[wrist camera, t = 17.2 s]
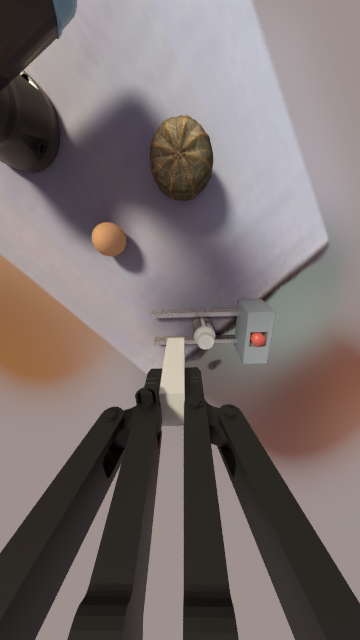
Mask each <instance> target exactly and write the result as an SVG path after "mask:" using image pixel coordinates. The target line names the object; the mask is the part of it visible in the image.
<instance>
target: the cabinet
mask: <svg viewBox="0 0 360 640" xmlns="http://www.w3.org/2000/svg"><path fill="white" fill-rule="evenodd" d="M238 309H239V311H240V316H237V320H236V331H235V335H236V337H237V343H234V346H235V348H236V350H237V352H238V355H239V357H240V359H241V361H242V364H267V360H268V354H269V349H270V343H271V337H272V332H273V326H274V320H275V315H276V312H275V311H274V310H273V309H272V308H271V307H270V306H269V305H267V304H266V303H265V302H264V301H263V300H262V299H251V300H238ZM251 332H261V333H262V334H263V336H264V337H265V338H266V342H265V344H264V345H263V346H260V347H257V346H255V345H254V344H253V343H252V341H251V340H250V334H251Z"/></svg>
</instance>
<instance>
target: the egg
mask: <svg viewBox="0 0 360 640" xmlns="http://www.w3.org/2000/svg"><path fill="white" fill-rule="evenodd" d="M92 242H93V245H94V247H95V248H96V249H97V250H98V251H99V252H100V253H102V254H103V255H106V256H116V255H118V254H120V253H121V252H122V251H123V250H124V248H125V246H126V236H125V234H124V232H123V230H122V229H121V228H120V227H119V226H118V225H116V224H114V223H110V222H104V223H100V224H99V225H97V226H96V227H95V228H94V230H93V232H92Z"/></svg>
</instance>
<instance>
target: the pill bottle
mask: <svg viewBox="0 0 360 640" xmlns="http://www.w3.org/2000/svg"><path fill="white" fill-rule="evenodd" d="M193 334H194V340H195V341H196V343H197V344H198V346H199V347H200V348H202V349H210V348H211V347H212V346H213V345H214V340H215V331H214V328H213V325H212V322H211V320H210V319H209V318H207V317H198V318H196V319H195V320H194V322H193Z"/></svg>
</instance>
